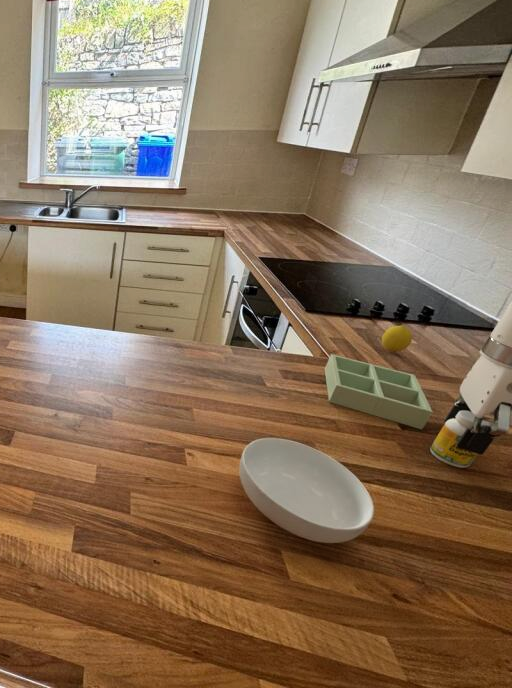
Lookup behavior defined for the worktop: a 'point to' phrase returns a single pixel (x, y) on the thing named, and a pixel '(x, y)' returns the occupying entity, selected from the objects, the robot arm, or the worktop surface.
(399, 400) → the compartment tray
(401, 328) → the lemon
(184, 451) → the worktop surface
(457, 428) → the supplement bottle
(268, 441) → the cereal bowl
